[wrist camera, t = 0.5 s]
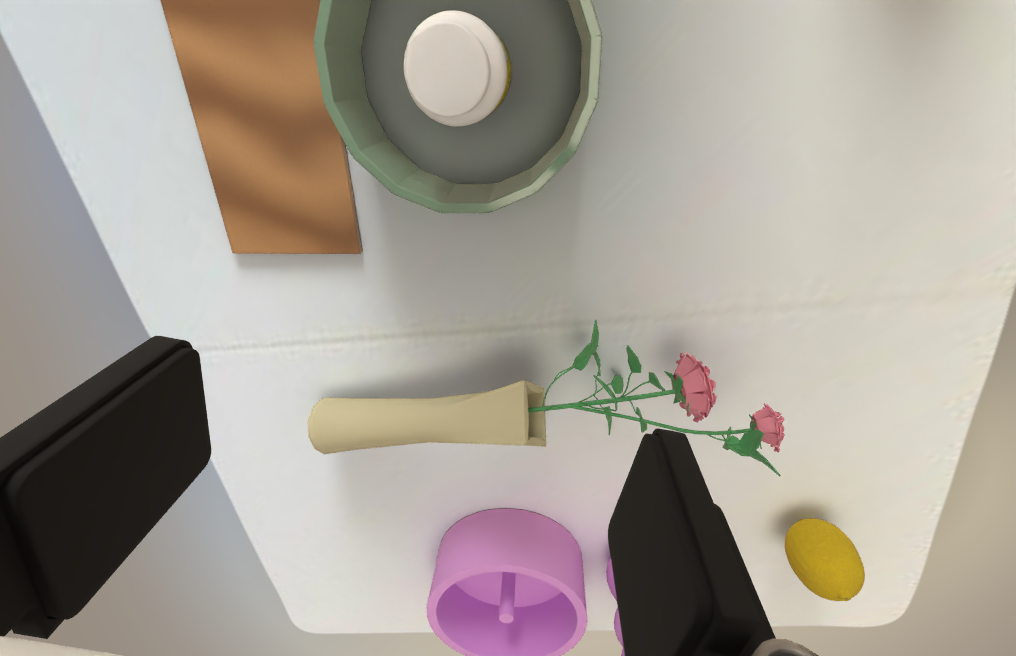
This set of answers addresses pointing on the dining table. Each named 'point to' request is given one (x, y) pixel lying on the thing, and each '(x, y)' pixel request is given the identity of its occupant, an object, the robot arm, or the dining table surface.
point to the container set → (510, 586)
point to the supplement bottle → (456, 68)
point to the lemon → (824, 559)
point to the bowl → (380, 157)
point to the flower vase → (519, 413)
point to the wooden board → (265, 124)
